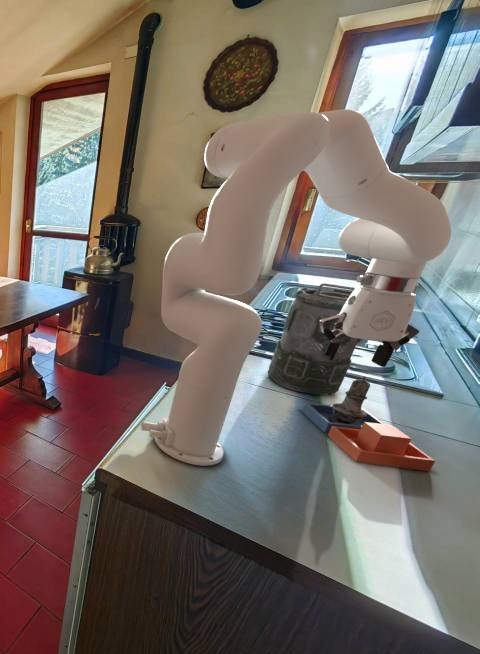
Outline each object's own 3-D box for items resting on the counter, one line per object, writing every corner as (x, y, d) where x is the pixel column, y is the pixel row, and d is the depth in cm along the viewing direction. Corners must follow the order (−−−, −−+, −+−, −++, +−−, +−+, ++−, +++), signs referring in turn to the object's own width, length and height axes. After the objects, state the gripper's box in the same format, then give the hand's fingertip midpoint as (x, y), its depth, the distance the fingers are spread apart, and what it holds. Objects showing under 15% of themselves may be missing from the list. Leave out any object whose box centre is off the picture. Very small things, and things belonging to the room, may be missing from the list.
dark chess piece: (367, 431, 87) (390, 384, 82) (337, 428, 88) (358, 381, 83) (349, 418, 92) (370, 372, 87) (320, 414, 93) (340, 369, 88)
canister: (259, 381, 110) (293, 284, 99) (273, 366, 120) (306, 276, 109) (332, 403, 99) (379, 296, 88) (341, 385, 109) (385, 286, 98)
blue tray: (324, 432, 87) (328, 423, 86) (301, 411, 95) (305, 402, 94) (389, 440, 85) (394, 430, 84) (359, 418, 93) (364, 409, 92)
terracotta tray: (355, 461, 78) (361, 451, 77) (327, 435, 86) (332, 425, 85) (429, 471, 75) (435, 461, 74) (393, 443, 84) (398, 433, 83)
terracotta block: (371, 455, 79) (381, 435, 77) (354, 441, 83) (364, 421, 81) (400, 459, 78) (412, 438, 76) (382, 444, 82) (392, 425, 80)
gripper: (350, 283, 77) (316, 362, 83) (456, 292, 73) (412, 373, 80) (327, 276, 83) (297, 350, 90) (423, 284, 80) (385, 360, 87)
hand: (351, 361), depth 85 cm, fingers open, 9 cm apart
